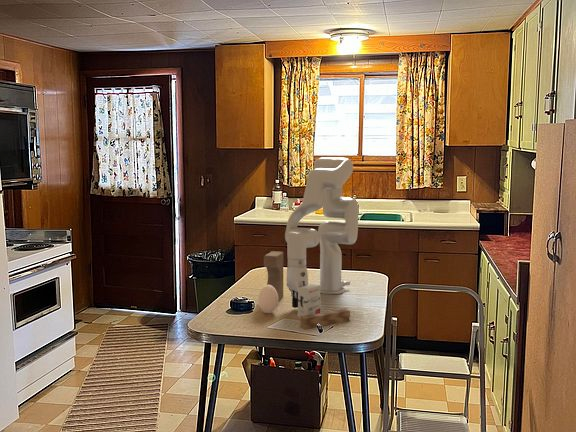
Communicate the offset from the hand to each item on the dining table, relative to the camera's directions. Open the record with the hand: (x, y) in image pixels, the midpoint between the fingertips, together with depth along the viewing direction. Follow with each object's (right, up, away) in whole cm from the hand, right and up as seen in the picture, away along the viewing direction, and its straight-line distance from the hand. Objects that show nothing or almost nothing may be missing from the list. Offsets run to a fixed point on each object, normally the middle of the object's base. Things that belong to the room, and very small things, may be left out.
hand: (296, 306), depth 243 cm
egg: (-11, -2, -4) cm, 12 cm away
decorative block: (-9, +1, +15) cm, 17 cm away
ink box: (+5, -3, -8) cm, 10 cm away
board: (+11, -4, -18) cm, 21 cm away
